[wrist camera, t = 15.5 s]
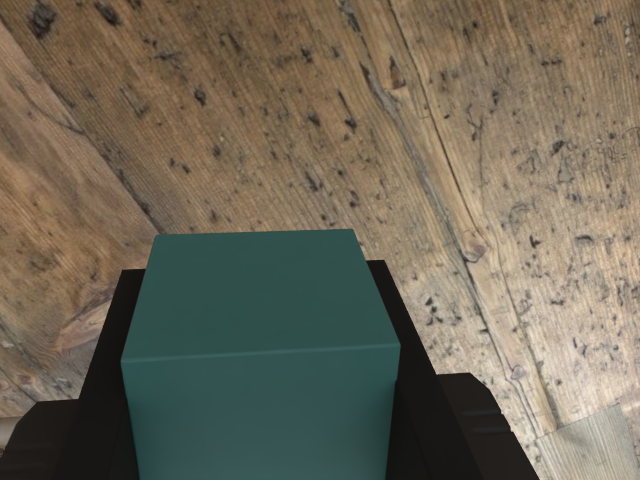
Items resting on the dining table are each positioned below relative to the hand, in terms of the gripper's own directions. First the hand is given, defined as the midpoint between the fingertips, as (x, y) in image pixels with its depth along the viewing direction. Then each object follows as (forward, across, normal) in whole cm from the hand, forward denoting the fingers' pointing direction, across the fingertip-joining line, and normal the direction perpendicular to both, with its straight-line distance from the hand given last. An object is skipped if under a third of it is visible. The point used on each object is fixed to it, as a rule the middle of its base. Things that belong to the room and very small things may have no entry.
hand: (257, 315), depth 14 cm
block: (0, 0, 0) cm, 0 cm away
